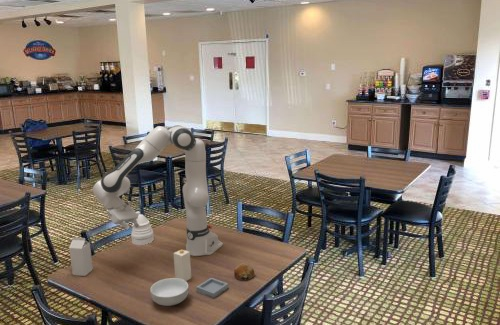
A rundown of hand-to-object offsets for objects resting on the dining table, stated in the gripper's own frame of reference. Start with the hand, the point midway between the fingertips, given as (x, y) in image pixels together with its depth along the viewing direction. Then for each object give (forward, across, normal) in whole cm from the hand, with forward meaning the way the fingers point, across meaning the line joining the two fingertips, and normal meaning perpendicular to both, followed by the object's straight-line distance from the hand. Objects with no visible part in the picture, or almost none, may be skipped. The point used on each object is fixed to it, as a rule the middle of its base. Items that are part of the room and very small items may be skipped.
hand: (133, 227), depth 212 cm
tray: (+49, -5, -12) cm, 51 cm away
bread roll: (+55, +10, -22) cm, 60 cm away
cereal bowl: (+40, -16, +2) cm, 44 cm away
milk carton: (-2, +1, +37) cm, 37 cm away
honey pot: (-2, +42, +20) cm, 46 cm away
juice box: (+36, +3, -1) cm, 36 cm away
